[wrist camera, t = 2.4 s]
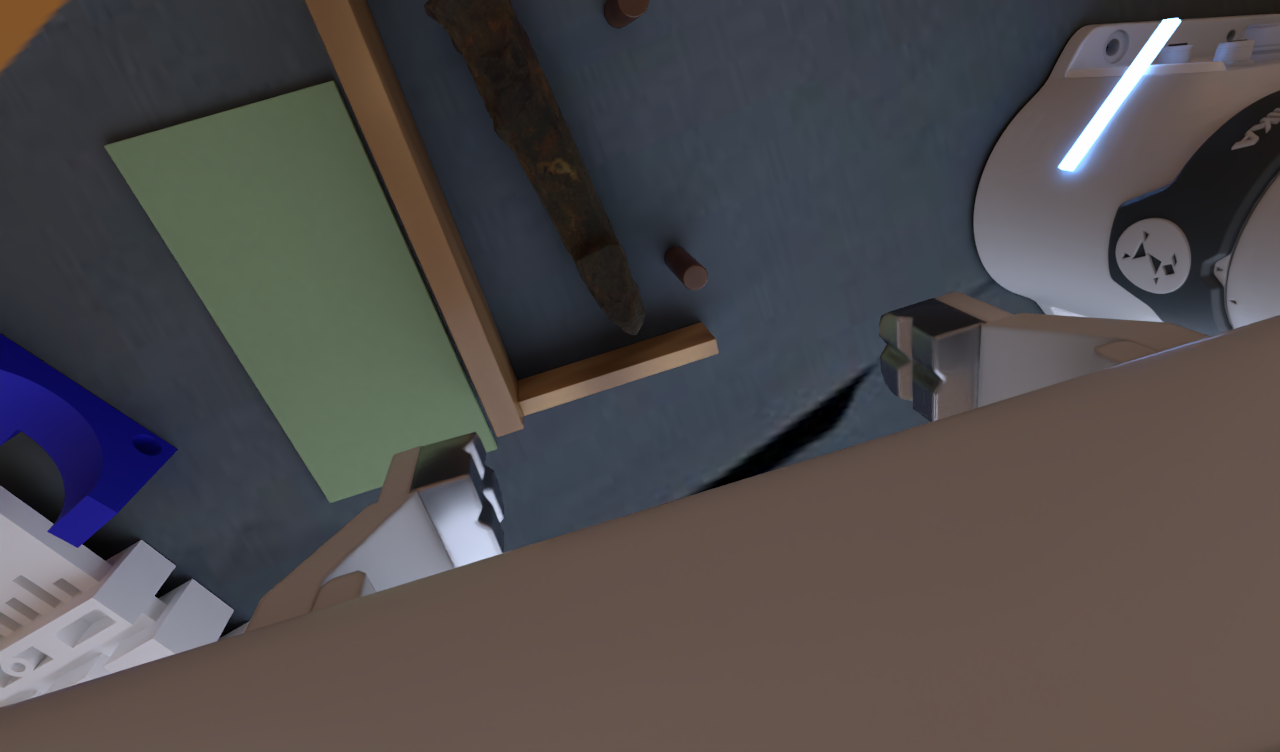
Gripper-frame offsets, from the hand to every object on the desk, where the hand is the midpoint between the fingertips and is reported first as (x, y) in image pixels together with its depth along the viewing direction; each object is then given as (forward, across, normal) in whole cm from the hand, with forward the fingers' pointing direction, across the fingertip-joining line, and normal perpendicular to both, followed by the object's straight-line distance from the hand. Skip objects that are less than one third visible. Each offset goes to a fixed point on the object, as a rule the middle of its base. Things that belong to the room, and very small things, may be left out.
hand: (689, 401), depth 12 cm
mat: (+25, +15, +3) cm, 29 cm away
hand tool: (+25, 0, -2) cm, 25 cm away
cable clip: (+25, +31, +3) cm, 40 cm away
